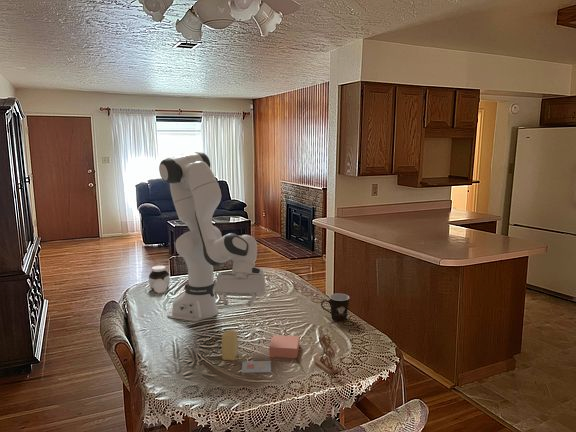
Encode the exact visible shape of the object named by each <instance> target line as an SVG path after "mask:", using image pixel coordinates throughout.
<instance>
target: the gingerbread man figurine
mask: <svg viewBox="0 0 576 432" xmlns="http://www.w3.org/2000/svg"><path fill="white" fill-rule="evenodd" d="M318 340H319V341H318V342H319V344H320V346H321V347H322V348H323V351H322V355H321V357H320V358H319V359H318V360H315V361H314V365H315V366H316V367H319V369H321V370H322V371H323V372H326V373H327V374H328V375H330V376H331V375H334V374H336V373H339V372H340V368H338V367H336V366H335V365H334V364H333V362H332V359H334V358H335V357H336V353H335V350H334V348H333V346H331V343H332V340H331V337H330V335H329V334H324V335H323V336H322V335H321V336H319V337H318ZM329 348H330V350H328V349H329ZM324 356H325V358H324Z"/></svg>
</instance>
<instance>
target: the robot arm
mask: <svg viewBox="0 0 576 432" xmlns="http://www.w3.org/2000/svg"><path fill="white" fill-rule="evenodd" d="M158 170H159V175H160V178H161V179H162V180H163V181H164V182H165V183H167V184H169V190H170V194H171V199H172V202H173V205H174V209H175V211H176V214H177V216H178V220H179V221H180V222H182V223H183V224H185V225H186V226H187V227H188V229H189V231H185V232H184V233H183V234H181V235H180V236H179V237H177V238H176V240H175V250H176V252H177V254H178V255H179V256H181V257H182V259H184V261H185V264H186V267H187V276H188V277H187V279H188V281H187V282H186V284H184V286H183V290H184V291H183V292H182V293H180V295H178V296H177V297H176V298H175V299H174V301H173V303H172V307H171V308H170V309H169V310H168V311H167V314H166V315H167V318H170V319H176V320H183V321H184V320H186V321H192V322H199V321H202V320H205V319H210V318H213V317H215V316H217V315H218V314H219V308H218V305H217V300H216V296H215V295H219V296H222V298H223V305H224V306H229V303H230V302H229V299H226V298H227V297H228V296H240V297H251V299H250V300H247V307H253V303H254V302H255V301H256V298H257V297H265V295H266V294H267V284H266V276H265V272H264V270H263V269H261V268H259V267H256V265H255V262H256V260H257V255H258V242H257V240H256V238H255V237H253V236H252V235H249V234H242V235H238V234H236V233H233V232H230V233H227V234H225V235H223V236H222V232H221V231H220V229H219V228H218V227H217V226H215V225H213V215H214V213H215V211H216V210H217V208H218V206H219V204H220V203H221V200H222V191H221V188H220V185H219V183H218V180H217V178H216V177H215V174H214V172H213V171H212V169H211V161H210V158H209V156H208V155H207V154H206V153H205V152H199V151H198V152H197V151H196V152H190V153H182V154H179V155H176V156H172V157H167V158H165V159H163V160H161V161H160V163H159V167H158ZM230 260H231V261H232V262H233V265H232V269H231V270H232V271H231V272H224V271H223V272H220V273H218V274H217V275H216V279H214V278H215V277H214V267H220V266H221V265H224V264H225V263H226V262H228V261H230ZM214 280H215V281H216V282H215V281H214Z"/></svg>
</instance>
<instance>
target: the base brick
mask: <svg viewBox="0 0 576 432" xmlns="http://www.w3.org/2000/svg"><path fill="white" fill-rule="evenodd" d="M268 347H269V349H268V350H269V353H268V354H269V355H268V356H269V358H270V357H271V358H288V359H297V358H298V354H299V348H300V336H299V335H284V334H283V335H279V334H273V335H272V338H271V341H270V344H269V346H268Z"/></svg>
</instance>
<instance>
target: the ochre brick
mask: <svg viewBox="0 0 576 432" xmlns="http://www.w3.org/2000/svg"><path fill="white" fill-rule="evenodd" d="M238 347H239V346H238V330H224V331H223V333H222V335H221V354H222V355H221V358H222V360H225V361H226V360H227V361H235V360H236V359H237V357H238V355H239V354H238V353H239V351H238V349H239V348H238Z"/></svg>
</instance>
